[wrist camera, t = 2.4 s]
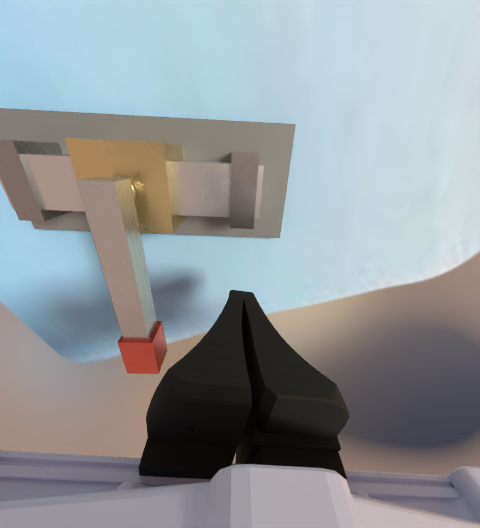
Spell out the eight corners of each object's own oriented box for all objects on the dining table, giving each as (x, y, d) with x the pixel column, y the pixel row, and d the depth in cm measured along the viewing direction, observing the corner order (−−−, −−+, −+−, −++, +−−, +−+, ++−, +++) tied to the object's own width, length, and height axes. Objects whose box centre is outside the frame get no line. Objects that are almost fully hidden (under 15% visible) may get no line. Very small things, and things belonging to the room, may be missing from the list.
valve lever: (98, 175, 10) (65, 180, 8) (141, 177, 10) (118, 182, 8) (141, 345, 15) (127, 373, 13) (168, 346, 15) (159, 373, 14)
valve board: (45, 224, 16) (34, 228, 15) (0, 110, 13) (-18, 107, 12) (277, 233, 17) (279, 238, 16) (291, 126, 13) (295, 124, 12)
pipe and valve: (57, 210, 15) (1, 227, 11) (31, 137, 13) (-47, 131, 9) (254, 217, 15) (259, 237, 12) (259, 149, 13) (267, 147, 10)
